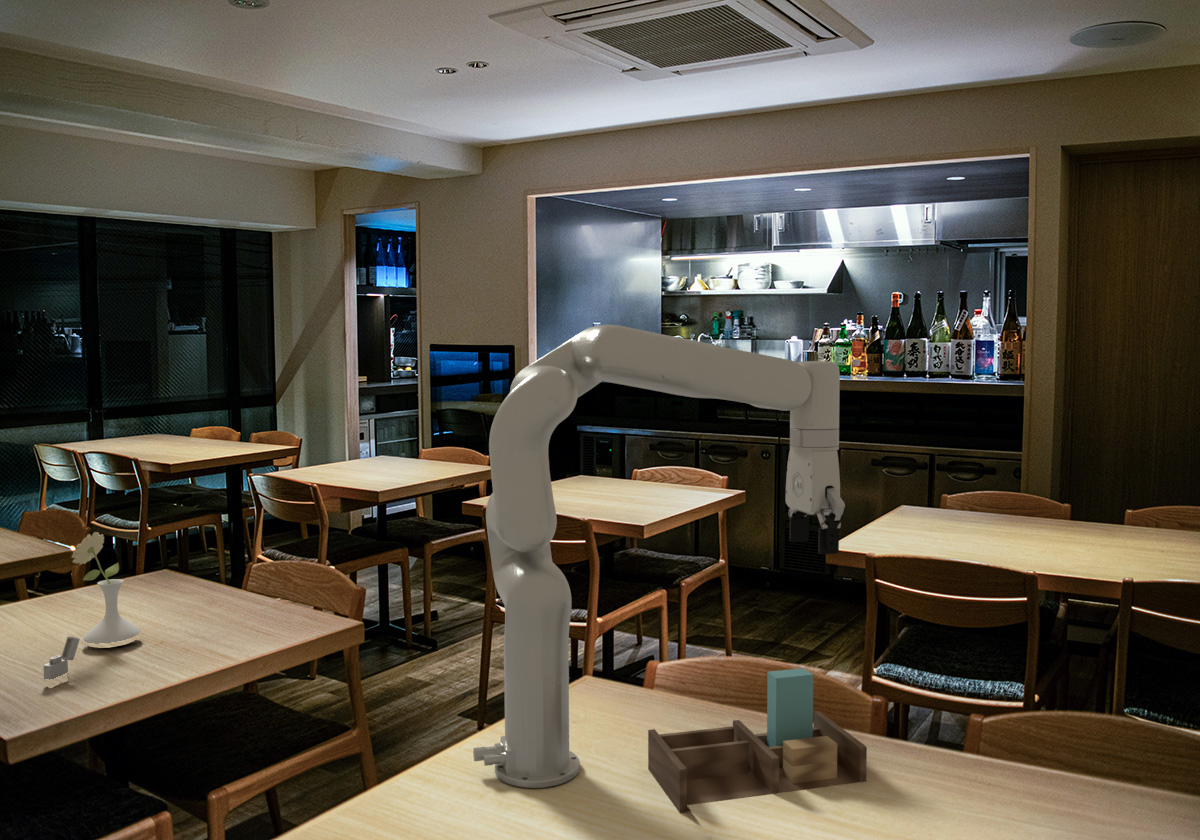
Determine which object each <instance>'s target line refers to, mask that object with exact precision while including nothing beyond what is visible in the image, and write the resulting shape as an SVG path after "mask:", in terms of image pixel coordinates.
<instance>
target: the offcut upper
mask: <svg viewBox="0 0 1200 840" xmlns="http://www.w3.org/2000/svg"><path fill="white" fill-rule="evenodd" d="M783 758H784V759H785V760H786V761H787V762H788V763H789V764H790V765H791V766H792V767H793V766H801V765H809V764H817V763H825V762H833V761H837V743H836V742H834V741H833V740H832V739H831V738H829V737H828V736H821V737H813V738H804V739H796V740H787V741H783Z"/></svg>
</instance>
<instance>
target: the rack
mask: <svg viewBox="0 0 1200 840" xmlns="http://www.w3.org/2000/svg"><path fill="white" fill-rule="evenodd" d="M647 731H648V732H647V738H648V739H647V742H648V743H647V744H648V745H647V751H648V752H647V754H648V755H647V756H648V759H647V764H648V765H647V766H648V767H647V768H648V771H649V772H650V774H651V775H652V777H653V778H654V779H655V781H656V782H657V784H658V785H659V787H660V788H661V789H662V790H663V791H664V793H665V795H666V796H667V797H668V799H669V800H670V801H671V803H672V804H673V806H674V808H676V810H677V811H678V813H679V814H682V813H683V814H684V813H688V812H689V813H690V812H692V810H691V809H690V807H689V806H690V805H698V804H699V805H700V804H705V803H714V802H720V801H721V802H722V801H728V800H736V799H737V800H738V799H743V798H744V799H745V798H751V797H759V796H766V795H773V794H774V795H775V794H781V793H789V792H790V793H791V792H796V791H804V790H812V789H819V788H826V787H835V786H843V785H849V784H856V783H864V782H867V757H868V756H867V754H868V753H867V752H868V751H867V749H868V748H867V746H866V744H864V743H862V742H861V741H859V739H857V738H856V737H854V736H853V735H852V734H850V733H849V731H847V730H845V729H844V728H843V727H841V726H840V725H839V724H837V723H836V722H835V721H833V720H832V719H830V718H829V717H828V716H827V715H825V714H824V713H823V712H821V711H820V710H818V711H817V710H815V711H813V737H821V736H828V737H829V738H831V739H832V740H833V741H834V742H836V743H837V778H833V779H825V780H817V781H810V782H802V783H794V784H792V783H791V782H790V781H789V780H788V779H787V778H786V777H785V776H784V775H783V745H780V746H772V747H767V732H763V733H753V731H752V730H750V728H748V727H747V725H745V724H744V723H743V722H742V721H741V720H739V719H736V720H734V719H733V721H732V725H731V726H724V727H715V728H706V729H696V730H687V731H680V732H679V731H678V732H670V733H669V732H668V733H662V734H659V733H658V731H657V730H656V729H655V728H653V729H648V730H647Z"/></svg>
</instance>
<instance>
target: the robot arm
mask: <svg viewBox="0 0 1200 840" xmlns="http://www.w3.org/2000/svg"><path fill="white" fill-rule="evenodd" d="M840 378H841V377H840V368H839V366H838V365H837V363H835V362H833V361H826V360H824V361H823V360H822V361H821V360H814V361H813V360H812V361H811V360H809V361H807V360H806V361H798V362H797V361H795V360H791V359H786V358H781V357H777V356H772V355H767V354H763V353H757V352H752V351H746V350H742V349H741V350H740V349H735V348H729V347H725V346H721V345H715V344H713V343H707V342H704V341H703V342H702V341H698V340H693V339H688V338H682V337H678V336H671V335H668V334H667V335H666V334H662V333H658V332H652V331H647V330H643V329H639V328H632V327H628V326H623V325H618V324H601V325H595V326H590V327H587V328H586V329H584V330H582V331H581V332H580V331H579V333H578V334H576V335H574V336H573V337H570V339H568V340H566V341H565V342H563V343H562V344H560V345H559V346H557V347H556V348H554V349H553V350H551V351H549V352H548V353H547V354H545V355H543V356H541V357H540V358H538V359H537V360H534V361H533V362H531V363H530V364H528V365H527V366H525V367H524V368H523V369H521V370H520V371H519V372H518V373H517V374H516V375H515V377H514V378H513V380H512V382H511V384H510V388H509V389H510V391H509V393H508V395H507V396H505V398H504V399H503V401H502V403H501V404H500V406H499V408H498V410H497V411H496V413H495V415H494V417H493V421H492V424H491V427H490V431H489V439H488V441H489V442H488V451H489V453H488V454H489V464H490V477H491V483H492V485H491V487H492V493H491V494H490V496H489V498H488V500H487V503H486V509H485V521H486V522H485V523H486V529H487V539H488V546H489V555H490V559H491V569H492V574H493V575H492V576H493V580H494V585H495V588H496V591H497V593H498V595H499V597H500V600H502V604H503V605H504V614H505V616H504V619H505V620H504V633H503V634H504V635H503V669H504V670H503V673H504V674H503V675H504V678H503V680H504V683H503V684H504V688H503V689H504V735H502V736H500V742H498V743H497V742H496V743H494V745H493V746H478V747H473V750H472V753H473V761H474V762H481V761H483V765H484V766H485V767H486V766H493V765H494V773H495V776H496V777H497V778H498V779H499V780H501V781H502V782H504V783H506V784H507V785H509V786H515V787H520V788H526V789H529V788H530V789H541V788H550V787H553V786H559V785H561V784H562V785H563V784H565V783H566V782H568V781H571V780H573V779H574V778H575V777H576V776H577V775H578V774H579V773H580V767H581V766H580V765H581V762H580V759H579V757H578V755H576V754H575V753H574V752H572V751H571V750H570V691H569V690H570V680H569V679H570V673H569V672H570V665H569V641H570V640H569V639H570V638H569V634H570V626H571V625H570V623H571V617H572V616H571V615H572V593H571V588H570V585H569V581H568V580H567V578H566V576H565V574H564V573H563V572H562V570H561V569H560V568H559V567H558V566H557V565H556V564H555V563H554V562H553V558H552V550H551V541H552V540H553V538H554V536H555V533H556V530H557V525H558V521H557V518H558V517H557V516H558V515H557V511H556V505H555V501H554V500H555V499H554V494H553V487H552V479H551V471H550V459H549V446H550V445H549V444H550V440H551V436H552V434H553V433H554V431H555V429H556V428H557V427H558V425H559V424H560V423H562V422H563V421H565V420H566V419H567V418H568V417H569V416H570V414H571V413H572V412H573V411H574V409H575V408H576V405H577V401H578V398H579V397H581V396H583V395H584V394H586V393H587V392H589V391H590V390H592V389H593V388H595V387H596V386H597V385H599V384H600V383H602V382H607V383H612V384H617V385H624V386H628V387H634V388H639V389H645V390H650V391H655V392H659V393H660V392H661V393H665V394H670V395H675V396H683V397H687V398H688V397H689V398H695V399H697V398H698V399H718V400H726V401H732V402H737V403H745V404H749V405H750V406H752V407H755V408H759V409H767V410H778V411H785V412H786V411H789V414H790V415H789V451H788V457H787V459H788V460H787V467H786V469H787V470H786V480H785V481H786V482H785V504H786V505H787V507H788V517H789V542H790V543H803V542H804V543H805V542H808V541H810V533H809V532H810V516H808V515H812V516H813V515H815V514H816V515H817V518H818V521H819V525H820V527H818V529H817V530H818V535H817V539H818V543H817V544H818V548H817V552H818V554H820V555H835V554H838V553H839V551H840V550H839V549H840V528H841V526H842V523H841V522H842V520H843V517H844V516H843V514H844V510H845V508H846V504H845V502H844V500H843V499H842V497H841V481H840V479H841V478H840V477H841V476H840V463H839V462H840V461H839V455H838V454H839V453H838V450H840V384H841V383H840ZM826 516H827V517H826Z"/></svg>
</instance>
